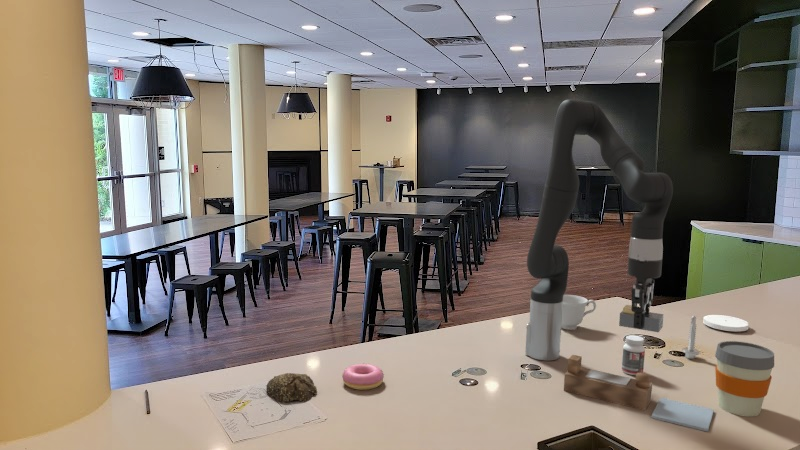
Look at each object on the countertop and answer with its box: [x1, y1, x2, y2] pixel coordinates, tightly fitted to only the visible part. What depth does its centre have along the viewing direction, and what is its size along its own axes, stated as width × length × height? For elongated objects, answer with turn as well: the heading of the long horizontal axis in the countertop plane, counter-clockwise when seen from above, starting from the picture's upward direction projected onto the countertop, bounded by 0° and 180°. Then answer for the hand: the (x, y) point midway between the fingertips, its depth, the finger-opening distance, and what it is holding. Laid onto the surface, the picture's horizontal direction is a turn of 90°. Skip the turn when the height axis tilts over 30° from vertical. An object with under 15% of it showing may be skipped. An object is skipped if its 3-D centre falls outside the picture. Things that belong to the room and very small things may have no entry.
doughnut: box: [341, 362, 385, 391], centre depth 162 cm, size 11×11×4 cm
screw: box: [681, 315, 701, 360], centre depth 184 cm, size 13×5×5 cm
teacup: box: [561, 293, 597, 331], centre depth 211 cm, size 12×15×10 cm
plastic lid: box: [702, 314, 750, 332], centre depth 216 cm, size 14×14×2 cm
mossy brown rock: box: [266, 372, 318, 403], centre depth 156 cm, size 13×12×5 cm
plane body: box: [563, 354, 653, 411], centre depth 157 cm, size 20×7×8 cm, turn 58°
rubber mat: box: [650, 397, 715, 432], centre depth 147 cm, size 12×12×1 cm
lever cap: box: [618, 304, 664, 333], centre depth 150 cm, size 9×5×4 cm, turn 57°
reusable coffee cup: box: [714, 340, 775, 417], centre depth 150 cm, size 13×13×15 cm
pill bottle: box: [621, 335, 646, 376], centre depth 172 cm, size 6×6×10 cm
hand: (641, 324), depth 150 cm, fingers closed on lever cap, 5 cm apart
